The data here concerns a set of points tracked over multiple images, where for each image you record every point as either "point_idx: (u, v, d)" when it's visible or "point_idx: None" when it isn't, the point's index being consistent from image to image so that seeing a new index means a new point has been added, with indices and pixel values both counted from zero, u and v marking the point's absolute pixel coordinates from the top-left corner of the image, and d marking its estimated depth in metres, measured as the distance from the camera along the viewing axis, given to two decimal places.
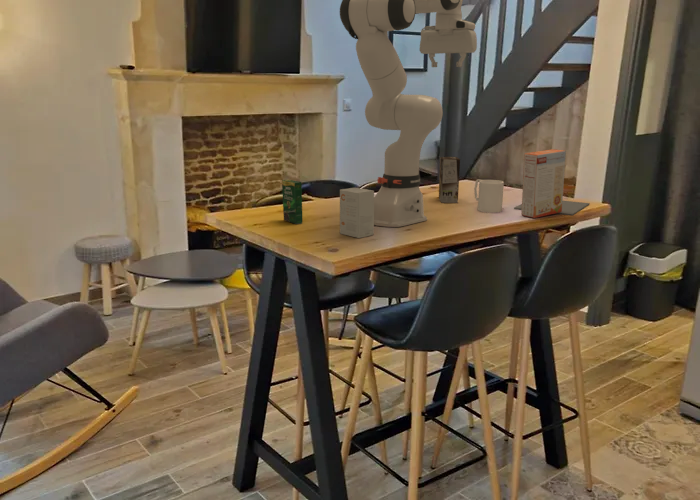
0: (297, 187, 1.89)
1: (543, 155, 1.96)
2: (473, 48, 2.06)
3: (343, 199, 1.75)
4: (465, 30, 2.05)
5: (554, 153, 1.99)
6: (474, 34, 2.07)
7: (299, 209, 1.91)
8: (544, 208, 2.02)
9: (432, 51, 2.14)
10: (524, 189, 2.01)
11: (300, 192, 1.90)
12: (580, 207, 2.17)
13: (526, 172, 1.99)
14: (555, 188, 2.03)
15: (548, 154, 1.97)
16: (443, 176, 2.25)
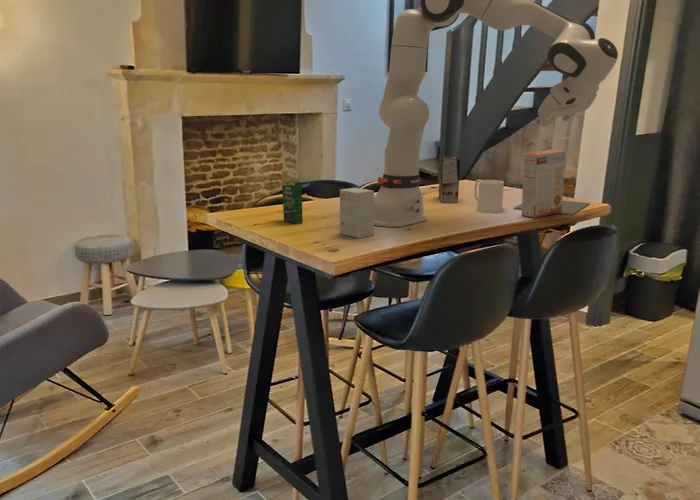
0: (298, 187, 1.89)
1: (543, 155, 1.96)
2: (538, 111, 1.86)
3: (343, 199, 1.75)
4: None
5: (554, 153, 1.99)
6: (550, 104, 1.82)
7: (299, 209, 1.91)
8: (544, 208, 2.02)
9: None
10: (524, 189, 2.01)
11: (300, 192, 1.90)
12: (580, 207, 2.17)
13: (526, 172, 1.99)
14: (555, 188, 2.03)
15: (548, 154, 1.97)
16: (443, 176, 2.25)
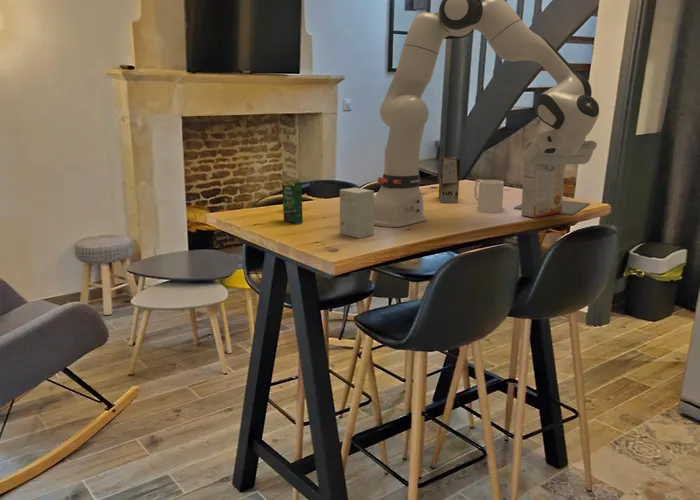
0: (297, 187, 1.89)
1: None
2: (525, 154, 1.93)
3: (343, 199, 1.75)
4: None
5: None
6: (533, 150, 1.88)
7: (299, 209, 1.91)
8: (544, 208, 2.02)
9: None
10: (524, 189, 2.02)
11: (300, 192, 1.90)
12: (580, 207, 2.17)
13: (526, 172, 2.00)
14: (555, 188, 2.03)
15: None
16: (443, 176, 2.25)
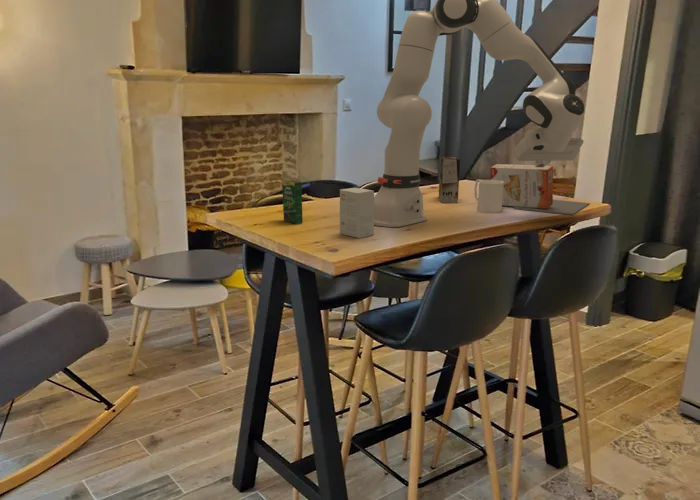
0: (298, 187, 1.89)
1: None
2: None
3: (343, 199, 1.75)
4: None
5: None
6: (522, 147, 1.96)
7: (299, 209, 1.91)
8: None
9: None
10: (523, 167, 2.13)
11: (300, 192, 1.90)
12: (580, 207, 2.17)
13: (508, 167, 2.17)
14: None
15: None
16: (443, 176, 2.25)
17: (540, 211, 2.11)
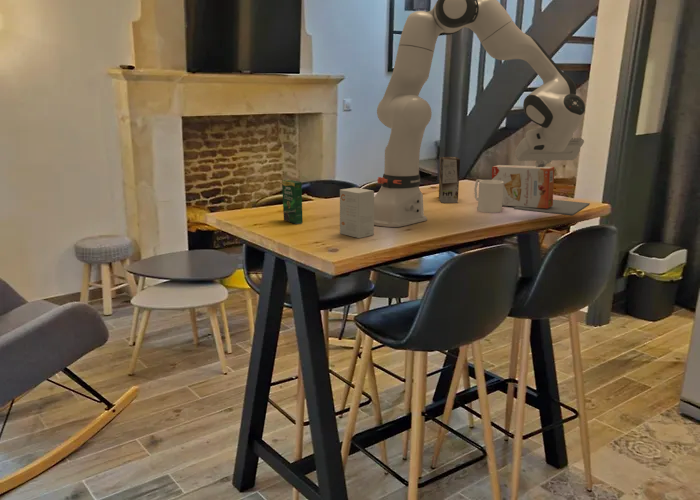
0: (298, 187, 1.89)
1: None
2: (515, 151, 2.01)
3: (343, 199, 1.75)
4: None
5: None
6: (522, 147, 1.96)
7: (299, 209, 1.91)
8: None
9: None
10: (524, 167, 2.15)
11: (300, 192, 1.90)
12: (580, 207, 2.17)
13: (509, 166, 2.18)
14: None
15: None
16: (443, 176, 2.25)
17: (540, 211, 2.11)
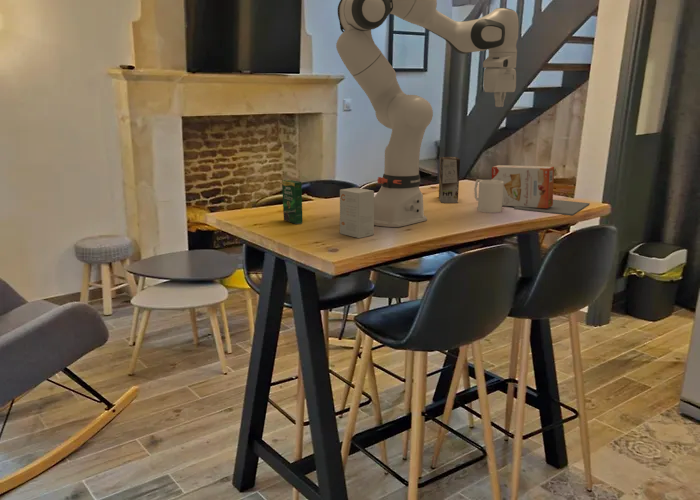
0: (297, 187, 1.89)
1: None
2: (484, 88, 1.92)
3: (343, 199, 1.75)
4: None
5: None
6: (492, 73, 1.91)
7: (299, 209, 1.91)
8: None
9: None
10: (524, 167, 2.15)
11: (300, 192, 1.90)
12: (580, 207, 2.17)
13: (509, 166, 2.18)
14: None
15: None
16: (443, 176, 2.25)
17: (540, 211, 2.11)
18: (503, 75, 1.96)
